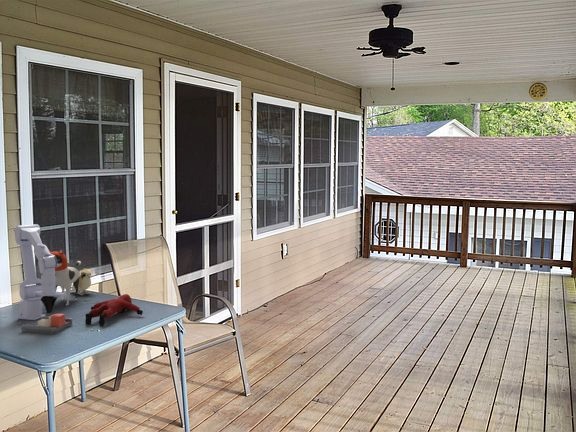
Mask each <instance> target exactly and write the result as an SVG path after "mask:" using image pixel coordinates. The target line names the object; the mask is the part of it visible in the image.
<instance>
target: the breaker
mask: <svg viewBox="0 0 576 432" xmlns="http://www.w3.org/2000/svg"><path fill="white" fill-rule="evenodd" d="M37 321H38V320H37ZM38 326H44V327H49V326H50V319H42V318H40V319H39V321H38Z"/></svg>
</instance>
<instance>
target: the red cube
mask: <svg viewBox="0 0 576 432" xmlns="http://www.w3.org/2000/svg"><path fill="white" fill-rule="evenodd" d="M51 315H52V316H51ZM51 315H50V316H51V326H58V327H60V326H62V325H64V324H65V318H66V314H65V313H54V315H53V314H51Z"/></svg>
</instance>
